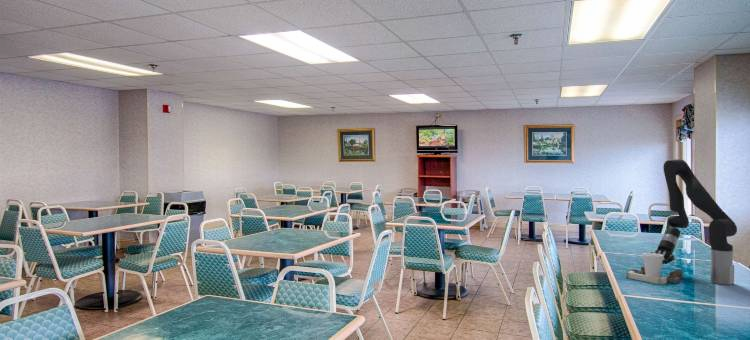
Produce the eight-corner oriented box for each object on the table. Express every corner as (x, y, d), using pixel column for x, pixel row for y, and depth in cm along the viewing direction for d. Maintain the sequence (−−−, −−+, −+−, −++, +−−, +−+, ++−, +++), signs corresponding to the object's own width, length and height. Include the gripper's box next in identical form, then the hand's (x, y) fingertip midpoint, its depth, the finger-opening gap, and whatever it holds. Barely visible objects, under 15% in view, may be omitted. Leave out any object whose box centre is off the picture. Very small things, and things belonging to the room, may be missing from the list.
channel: (682, 277, 257) (682, 270, 257) (673, 280, 252) (673, 272, 251) (649, 271, 271) (649, 264, 271) (641, 274, 266) (641, 267, 266)
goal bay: (666, 282, 246) (666, 277, 246) (661, 284, 243) (661, 278, 243) (631, 276, 261) (631, 270, 261) (626, 277, 258) (626, 272, 258)
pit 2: (679, 282, 247) (679, 277, 247) (674, 283, 244) (674, 279, 244) (668, 280, 252) (668, 275, 252) (663, 281, 249) (663, 277, 249)
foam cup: (667, 280, 252) (667, 256, 251) (651, 280, 250) (651, 256, 250) (654, 275, 261) (654, 252, 261) (638, 276, 260) (639, 253, 260)
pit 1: (642, 275, 263) (642, 271, 263) (637, 276, 260) (637, 272, 259) (632, 273, 267) (632, 269, 267) (627, 274, 264) (627, 270, 264)
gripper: (653, 238, 269) (642, 261, 263) (678, 241, 258) (667, 266, 252) (657, 246, 272) (646, 270, 266) (682, 249, 261) (672, 274, 255)
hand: (656, 268), depth 259 cm, fingers closed
